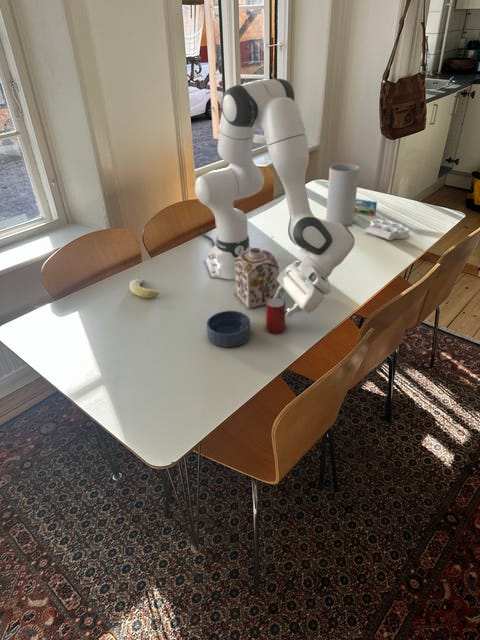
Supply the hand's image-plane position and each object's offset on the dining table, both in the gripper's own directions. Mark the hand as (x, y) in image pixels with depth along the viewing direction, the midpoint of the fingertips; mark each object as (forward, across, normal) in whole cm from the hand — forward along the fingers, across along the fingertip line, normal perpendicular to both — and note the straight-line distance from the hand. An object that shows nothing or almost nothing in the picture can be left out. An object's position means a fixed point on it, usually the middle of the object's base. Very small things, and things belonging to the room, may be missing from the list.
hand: (281, 307), depth 140 cm
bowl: (+17, -2, -6) cm, 18 cm away
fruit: (+31, -39, -21) cm, 54 cm away
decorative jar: (+6, -20, +5) cm, 21 cm away
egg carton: (-45, -50, +55) cm, 87 cm away
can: (+6, 0, +4) cm, 8 cm away
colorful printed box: (-47, -76, +58) cm, 106 cm away
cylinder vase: (-36, -70, +47) cm, 92 cm away
